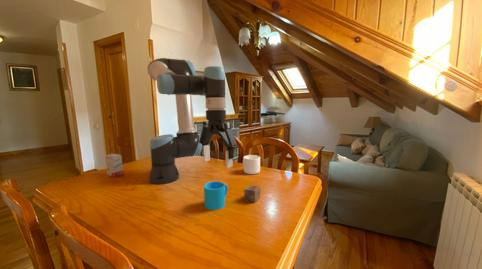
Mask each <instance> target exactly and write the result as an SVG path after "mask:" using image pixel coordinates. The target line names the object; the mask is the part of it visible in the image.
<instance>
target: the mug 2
mask: <svg viewBox="0 0 482 269" xmlns="http://www.w3.org/2000/svg"><path fill="white" fill-rule="evenodd" d="M242 164H243V165H242V166H243V172H244V173H245V174H247V175H256V174H259V173H260V172H261V156H259V155H256V154H254V155H253V154H247V155H244V156H243V160H242Z"/></svg>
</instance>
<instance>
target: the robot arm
mask: <svg viewBox="0 0 482 269" xmlns="http://www.w3.org/2000/svg"><path fill="white" fill-rule="evenodd" d="M195 68H196V67H195V65H194V64H193V62H191V61H190V60H187V59H178V58H177V59H176V58H167V57H160V58H156V59H155V58H154V60H151V61H150V62H149V64H148V65H147V74H148V75H149V77H150V78H151V79H152V80H153V81H156V87H157V91H158V93H159V94H161V95H168V96H169V95H170V96H171V95H172V96H173V95H175V104H176V116H177V126H178V130H177V132H176V136H175V135H173V134H162V135H158V136H155V137H152V138H151V139H150V140H149V141H150V142H149V146H150V147H149V150H150V161H151V168H150V171H149V175H148V181H149V183H151V184H155V185H156V184H157V185H163V184H170V183H173V182H176V181H177V180H179V178H180V173H179V170H178V166H177V164H176V159H181V158H188V157H194V156H198V155H200V153H201V152H202V154H203V162H204V163H205V162H209V161H211V150H210V149H211V148H210V147H211V146H210V141H211V140H212V138H213V135H218V136H219V137H220V139H221V141H222V142H223V144H224V146H225V148H226V149H225V168H226V169H229V168H232V167H233V165H234V162H233V161H234V158H235V157H234V150H236V149H238V148H239V146H238V143H237V141H236V138H235V135H234V133H233V132H234V131H233V129H232V123H231V122H225V120H226V119H227V110H226V108H227V104H226V103H227V102H226V75H225V68H224V67H222V66H219V65H217V66H215V65H211V66H206V67H205V68H204V70H203V72H204V73H203V75H196V69H195ZM193 95H194V96H205V97H204V98H205V109H206V111H205V119H206V121H203V122H202V129H201V133H200V134H199V133H198V131H197V129H196V128H195V121H194V120H195V119H194V109H193V100H192V96H193Z"/></svg>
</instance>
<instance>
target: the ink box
mask: <svg viewBox="0 0 482 269" xmlns="http://www.w3.org/2000/svg"><path fill="white" fill-rule="evenodd" d="M104 156H105V164H106V173H107V176H110V177H113V178H117V176H118V177H121V176H124V168H123V160H122V159H123V158H122V154H117V153H109V154H105V155H104Z"/></svg>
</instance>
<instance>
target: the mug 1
mask: <svg viewBox="0 0 482 269" xmlns="http://www.w3.org/2000/svg"><path fill="white" fill-rule="evenodd" d="M228 190H229V188H228V185H227V184H226V183H224V182H223V181H210V182H206V183H205V184H204V185H203V195H204V196H203V198H204V207H205V209H207V210H210V211H217V210H221V209H224V207H225V206H226V196H227V195H228Z"/></svg>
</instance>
